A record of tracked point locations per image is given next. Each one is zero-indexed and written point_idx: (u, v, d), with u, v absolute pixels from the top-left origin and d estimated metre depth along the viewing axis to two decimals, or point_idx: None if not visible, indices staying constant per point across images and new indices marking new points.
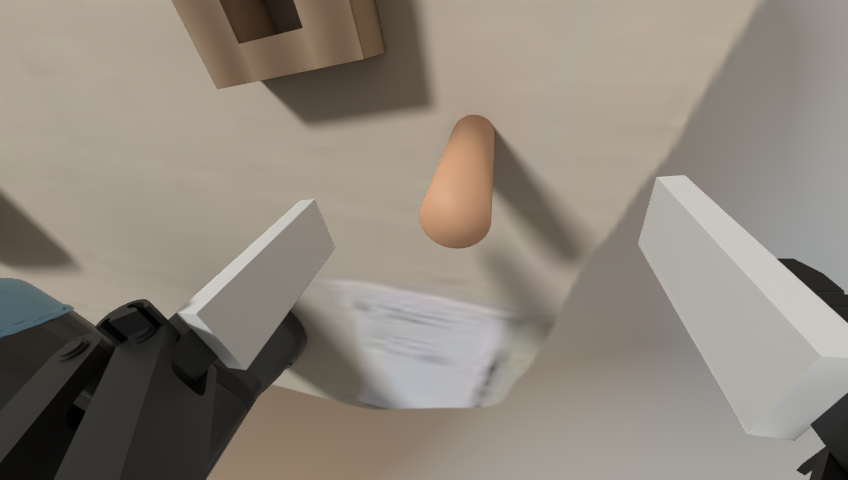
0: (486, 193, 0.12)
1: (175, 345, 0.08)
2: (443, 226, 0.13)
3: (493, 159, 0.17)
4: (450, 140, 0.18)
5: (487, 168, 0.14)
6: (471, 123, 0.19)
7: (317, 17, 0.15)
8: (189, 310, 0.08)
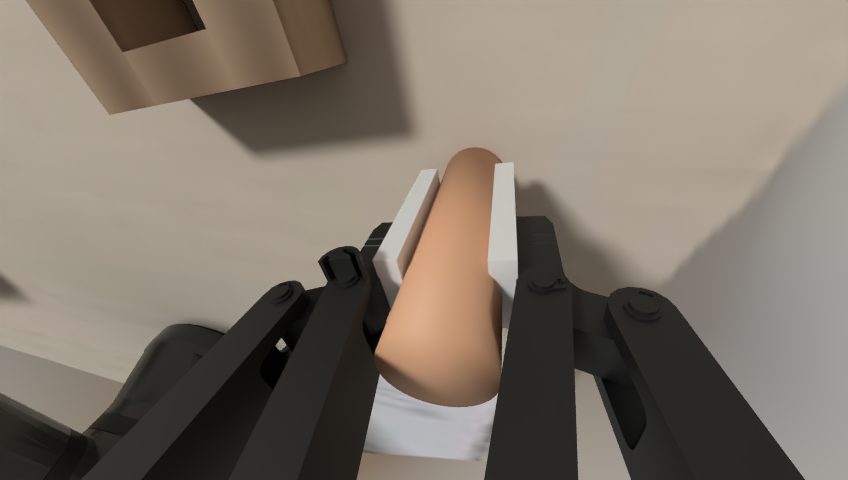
0: (492, 329, 0.07)
1: (368, 301, 0.08)
2: (417, 378, 0.07)
3: None
4: (440, 193, 0.12)
5: None
6: (471, 164, 0.13)
7: (224, 12, 0.10)
8: (386, 258, 0.09)
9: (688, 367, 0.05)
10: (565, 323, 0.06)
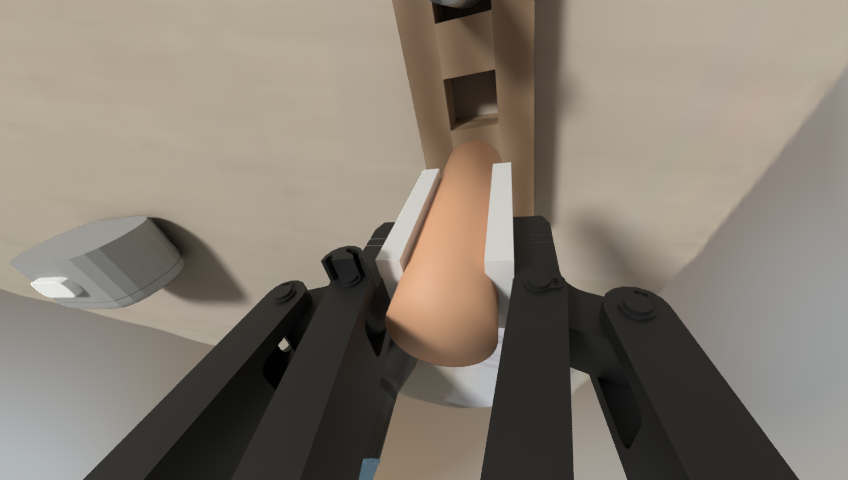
0: (490, 293, 0.08)
1: (371, 300, 0.08)
2: (423, 339, 0.08)
3: None
4: (442, 181, 0.13)
5: None
6: (471, 155, 0.14)
7: (513, 202, 0.30)
8: (389, 258, 0.09)
9: (682, 366, 0.05)
10: (561, 322, 0.06)
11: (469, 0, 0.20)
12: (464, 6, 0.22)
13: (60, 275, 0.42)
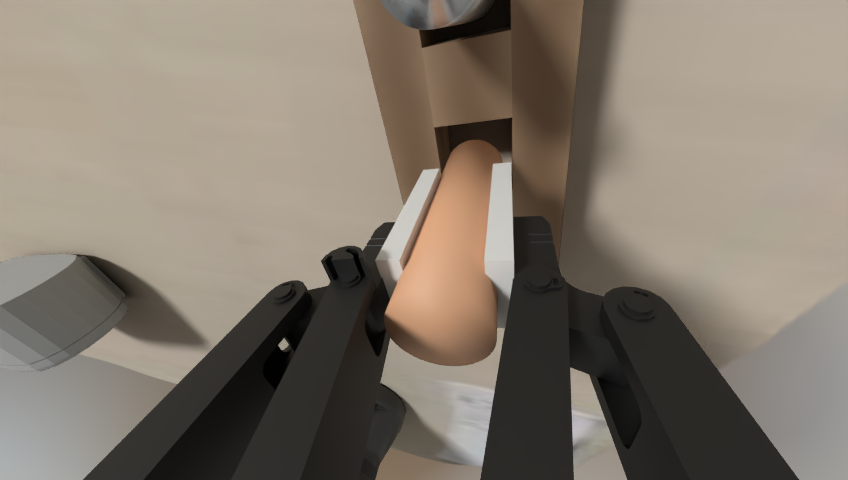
0: (489, 292, 0.08)
1: (371, 301, 0.08)
2: (422, 338, 0.08)
3: None
4: (442, 180, 0.13)
5: None
6: (471, 154, 0.14)
7: None
8: (389, 258, 0.09)
9: (682, 366, 0.05)
10: (561, 322, 0.06)
11: (476, 15, 0.13)
12: (467, 22, 0.14)
13: None
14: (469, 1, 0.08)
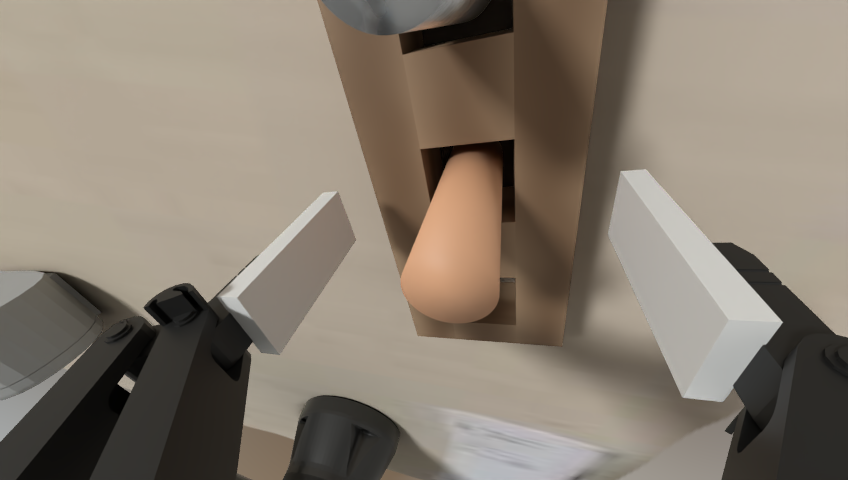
0: (492, 255, 0.09)
1: (214, 330, 0.08)
2: (433, 297, 0.09)
3: (501, 191, 0.13)
4: (447, 166, 0.14)
5: (494, 211, 0.11)
6: (474, 143, 0.15)
7: (532, 323, 0.19)
8: (229, 294, 0.09)
9: None
10: None
11: (468, 13, 0.10)
12: (459, 22, 0.11)
13: None
14: None
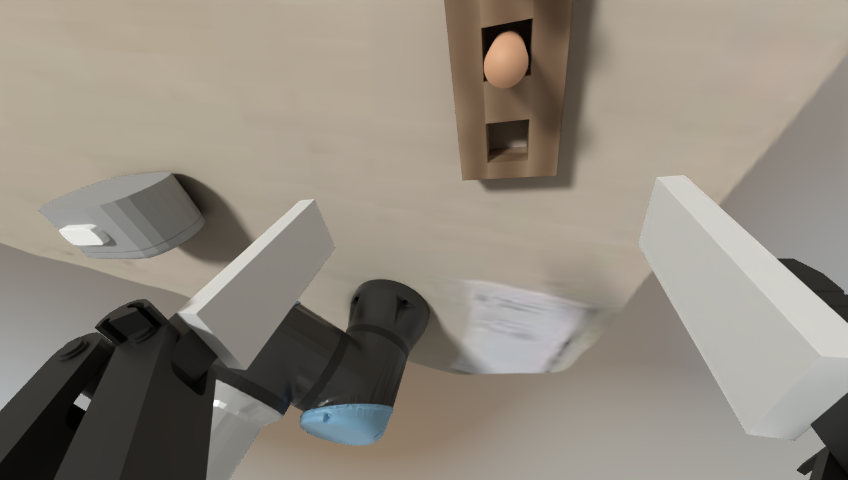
0: (525, 48, 0.21)
1: (175, 345, 0.08)
2: (498, 70, 0.21)
3: None
4: None
5: (523, 43, 0.23)
6: (509, 30, 0.27)
7: (538, 157, 0.31)
8: (189, 310, 0.08)
9: None
10: None
11: None
12: None
13: (89, 222, 0.43)
14: None
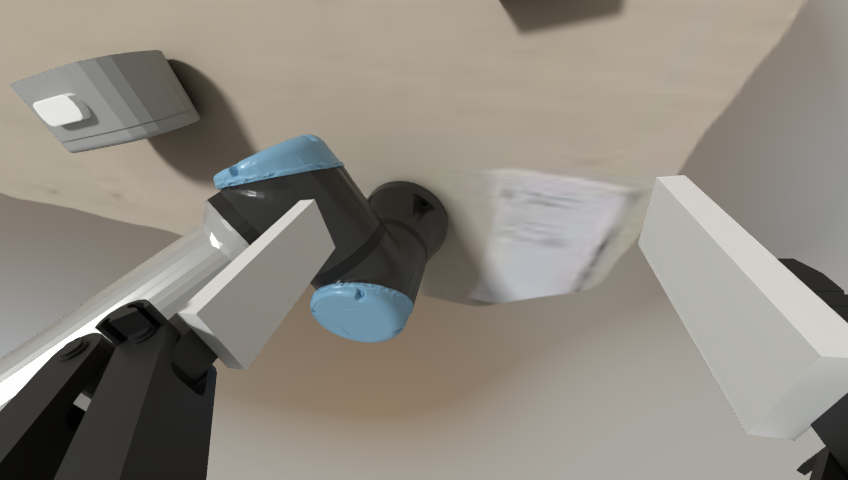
0: None
1: (175, 345, 0.08)
2: None
3: None
4: None
5: None
6: None
7: None
8: (189, 310, 0.08)
9: None
10: None
11: None
12: None
13: (66, 90, 0.38)
14: None
